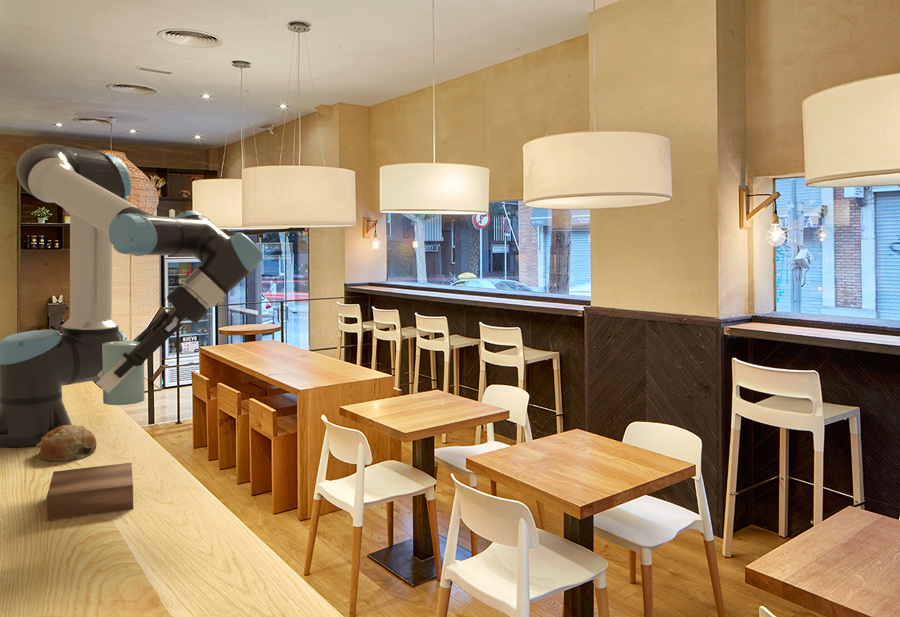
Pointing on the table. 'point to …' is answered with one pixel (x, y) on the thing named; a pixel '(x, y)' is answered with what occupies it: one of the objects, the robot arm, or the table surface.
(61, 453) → the bread roll
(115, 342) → the dome-topped cylinder
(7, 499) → the table surface
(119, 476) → the pedestal
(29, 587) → the table surface
